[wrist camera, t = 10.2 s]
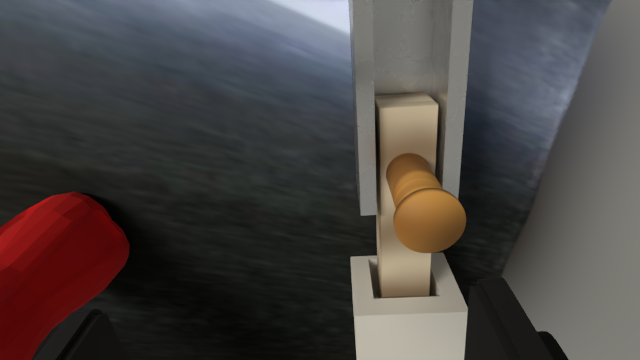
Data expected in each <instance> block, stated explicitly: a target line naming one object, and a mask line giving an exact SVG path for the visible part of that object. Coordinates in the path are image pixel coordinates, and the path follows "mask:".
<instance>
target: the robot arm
mask: <svg viewBox="0 0 640 360" xmlns="http://www.w3.org/2000/svg"><path fill="white" fill-rule="evenodd" d="M34 360H129V359H128V357H127V355H126V353H125V351H124V349H123V347H122V345H121V343H120V341H119V338H118V336H117V334H116V332H115V330H114V328H113V326H112V324H111V322H110V320H109V318H108V317H107V315H105V314H103V313H102V312H101V311H100V310H98V309H91V310H78V311H74V312H72V313H71V314H70V315H69V316H68V317H67V318H66V319H65V321H64V322H63V323H62V325H61V326H60V327H59V328H58V330H57V331H56V332H55V334H54V335H53V336H52V337H51V339H50V340H49V341H48V342H47V344H46V345H45V346H44V348H43V349H42V350H41V351H40V353H39V354H38V355H37V357H36V358H35V359H34ZM464 360H568V358H567V356H566V355H565V353H564V352H563V350H562V349H561V347H560V346H559V344H558V343H557V341H556V340H555V339H554V338H553V336H552V335H551V334H550V333H548V332H545V331H541V332H537V331H536V330H535V328H534V326H533V325H532V323H531V322H530V320H529V318H528V317H527V315H526V313H525V312H524V310H523V308H522V307H521V305H520V303H519V302H518V300H517V299H516V297H515V295H514V294H513V292H512V291H511V289H510V287H509V286H508V284H507V282H506V281H505V279H504V278H502V277H500V278H487V279H478V280H477V283H476V285H475V286H470V289H469V301H468V314H467V327H466V341H465V354H464Z"/></svg>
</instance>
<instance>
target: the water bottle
mask: <svg viewBox="0 0 640 360" xmlns="http://www.w3.org/2000/svg"><path fill="white" fill-rule="evenodd" d="M129 247H130V244H129V242H128V240H127V238H126V236H125V234H124V231H123V229H121V228H120V227H119V226H118V225H117V224H116V223H115V222H113V221H112V219H111V217H110V216H109V214H108V212H107V211H106V209H105V208H104V207H103V206H101V205H100V204H99V203H97V202H96V201H95V200H93V199H92V198H91V197H89V196H87V195H84V194H81V193H78V192H70V193H65V194H59V195H54V196H51V197H49V198H47V199H45V200H43V201H41V202H40V203H38V204H36V205H34V206H32V207H30V208H28V209H27V210H25V211H24V212H22V213H20V214H19V215H17V216H16V217H14V218H13V219H12V220H10V221H9V222H7V223H6V224H5V225H3V226H2V227H0V360H32V358H33V356H34V354H35V352H36V350H37V348H38V346H39V345H40V343H41V342H42V341H43V340H44V338H45V337H46V336H47V335H48V333H49V332H50V331H51V330H52V328H54V327H55V326H56V325H58V324H59V323H60V322H62V321H63V320H64V319H66V318H67V317H68V316H69V315H70V314H71V313H72V312H74V311H76V310H78V309H79V308H80V307H82V306H83V305H84V304H86V303H87V302H88V301H90V300H91V299H92V298H94V297H95V296H96V295H98V294H99V293H100V292H102V291H103V290H104V289H105V288H106V287H107V286H108V285H109V283H110V282H111V281H112V280H113V279H114V277H115V276H116V275H117V274H118V273H119V272H120V270H121V269H122V268H123V267H124V266H125V264H126V261H127V259H128V256H129Z"/></svg>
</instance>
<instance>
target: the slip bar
mask: <svg viewBox="0 0 640 360" xmlns="http://www.w3.org/2000/svg"><path fill="white" fill-rule="evenodd" d="M374 101H375V152H376V203H377V215H376V223H377V273H378V299H380V298H406V297H429V288H430V267H431V253H435V252H439V251H442V250H445V249H447V248H448V247H450V246H452V245H453V244H454V243H455V242H456V241H457V240H458V239H459V238H460V237H461V235H462V234H463V232H464V229H465V226H466V214H465V211H464V209H463V207H462V205H461V204H460V202H459V201H458V199H457V198H456V197H455V196H454V195H453V194H451V193H450V192H448V191H446V190H443V188H442V186H441V185H440V183H439V181H438V180H437V178H436V176H435V163H436V142H437V121H438V104H437V103H436V102H435V101H434V100H433V99H432V98H431V97H430V96H429V95H428V94H426V93H413V94H399V95H385V96H374Z"/></svg>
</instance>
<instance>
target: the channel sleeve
mask: <svg viewBox="0 0 640 360" xmlns="http://www.w3.org/2000/svg"><path fill="white" fill-rule="evenodd" d="M472 12H473V0H349V17H350V41H351V64H352V88H353V112H354V135H355V159H356V183H357V190H358V198H359V205H360V213H361V216H363V215H377V203H376V152H375V101H374V96H385V95H399V94H413V93H426V94H428V95H429V96H430V97H431V98H432V99H433V100H434V101H435V102H436V103H437V104H438V121H437V142H436V163H435V176H436V178H437V180H438V181H439V183H440V185H441V186H442V188H443V190H446V191H448V192H450V193H451V194H453V195H454V196H455V197H456V198H457V199H458V194H459V181H460V168H461V155H462V142H463V129H464V116H465V103H466V90H467V77H468V64H469V51H470V38H471V25H472Z"/></svg>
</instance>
